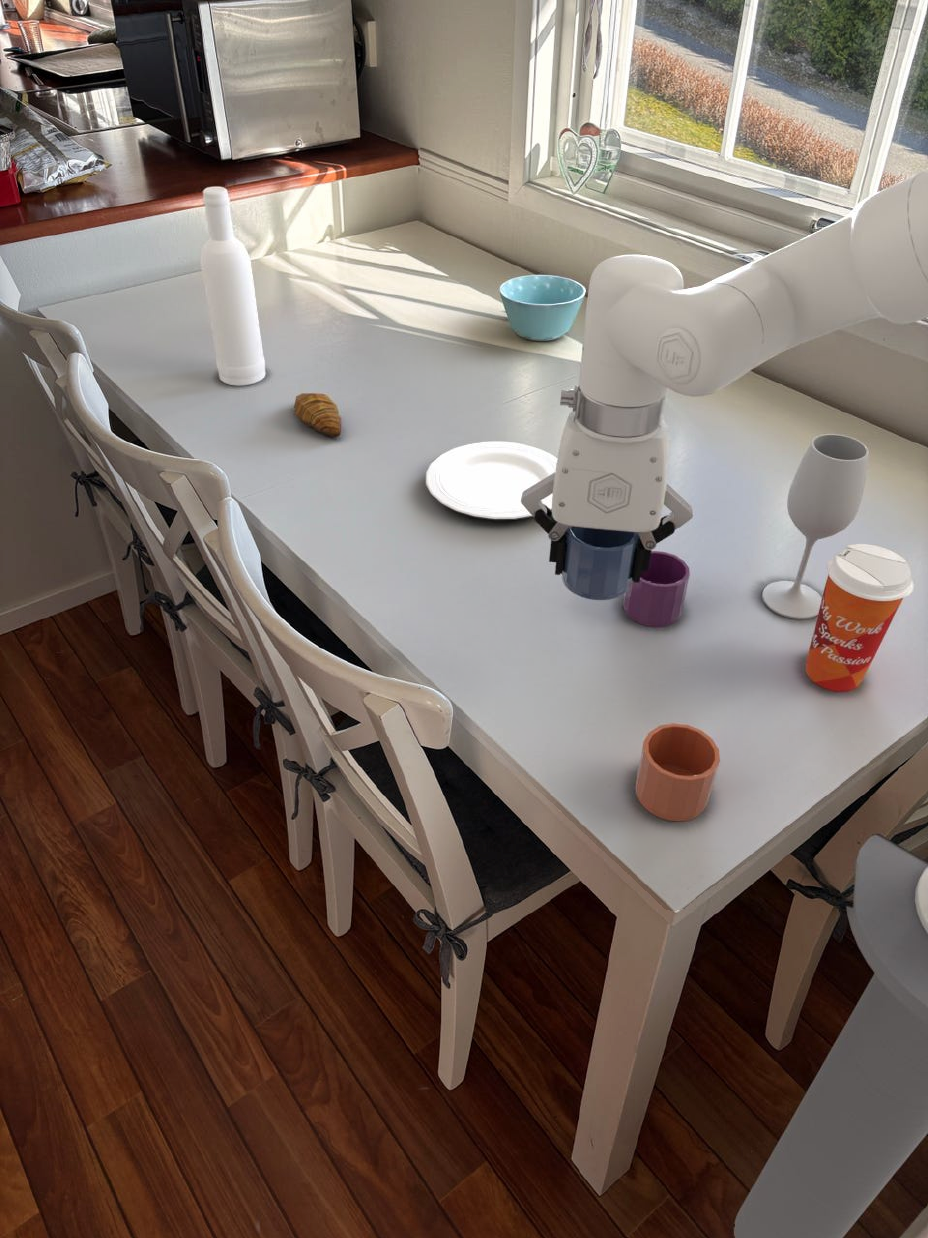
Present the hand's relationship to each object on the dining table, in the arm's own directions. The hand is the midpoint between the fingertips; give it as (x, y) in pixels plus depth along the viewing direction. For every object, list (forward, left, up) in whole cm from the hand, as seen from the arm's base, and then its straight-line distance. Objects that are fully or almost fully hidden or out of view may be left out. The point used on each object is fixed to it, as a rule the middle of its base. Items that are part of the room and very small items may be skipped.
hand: (597, 569), depth 92 cm
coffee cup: (-16, -23, -15) cm, 32 cm away
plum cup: (+4, -15, -15) cm, 21 cm away
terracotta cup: (-17, +4, -15) cm, 23 cm away
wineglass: (-5, -30, -15) cm, 34 cm away
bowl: (+75, -58, -15) cm, 96 cm away
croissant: (+68, -6, -15) cm, 70 cm away
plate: (+36, -17, -15) cm, 42 cm away
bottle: (+90, -4, -15) cm, 91 cm away
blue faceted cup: (0, 0, -1) cm, 1 cm away
